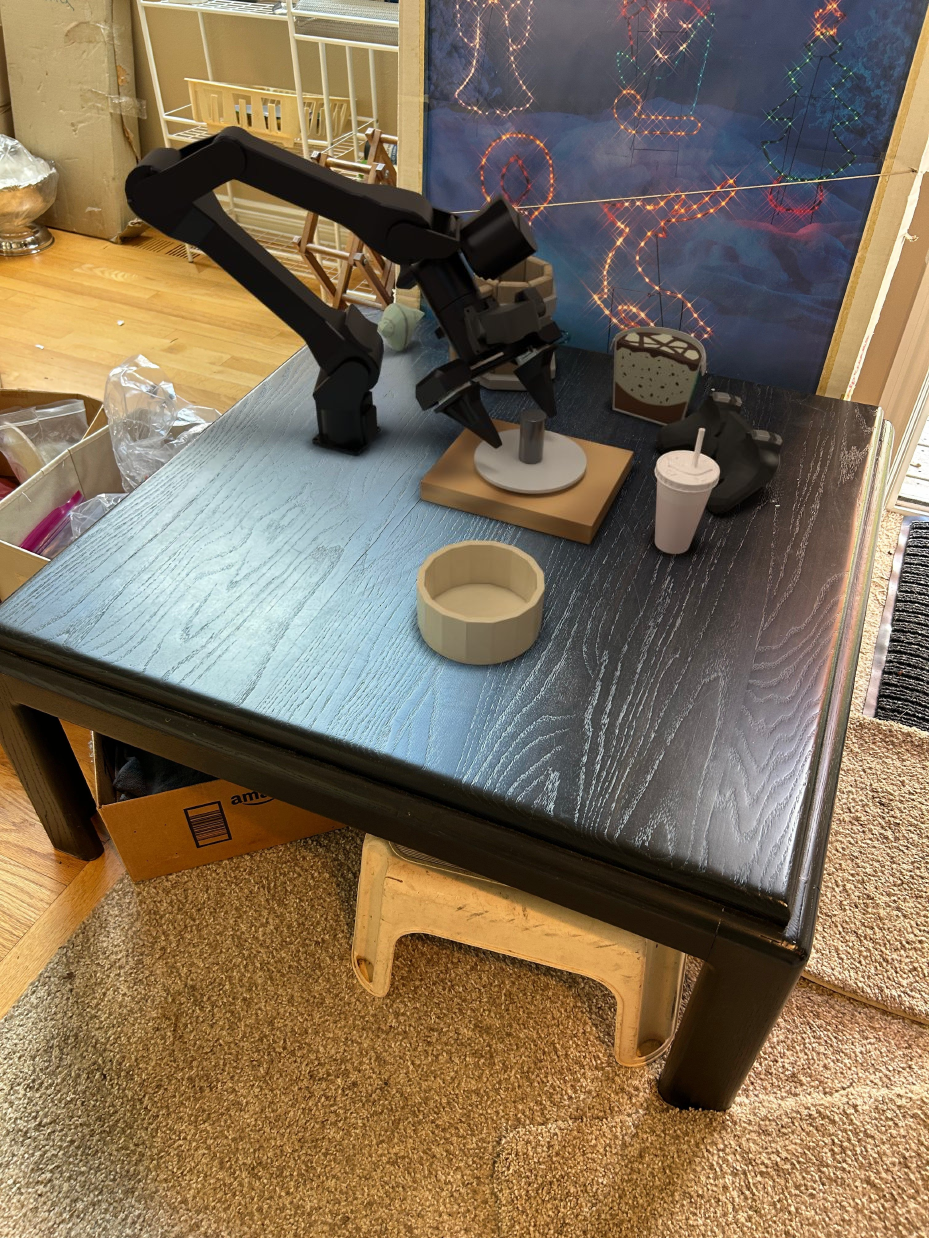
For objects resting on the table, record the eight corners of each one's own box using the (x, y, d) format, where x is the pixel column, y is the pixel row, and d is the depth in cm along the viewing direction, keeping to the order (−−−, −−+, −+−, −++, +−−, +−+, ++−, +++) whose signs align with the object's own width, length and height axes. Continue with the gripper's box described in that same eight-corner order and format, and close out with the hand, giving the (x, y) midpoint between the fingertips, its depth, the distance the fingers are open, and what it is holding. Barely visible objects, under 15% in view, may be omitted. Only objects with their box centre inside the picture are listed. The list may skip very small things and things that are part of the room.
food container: (708, 413, 117) (724, 340, 110) (690, 434, 113) (706, 360, 107) (622, 387, 122) (632, 316, 115) (602, 406, 118) (611, 334, 111)
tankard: (508, 339, 132) (513, 235, 122) (572, 370, 125) (583, 262, 115) (404, 384, 122) (400, 274, 112) (468, 420, 115) (470, 306, 105)
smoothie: (701, 565, 94) (730, 450, 85) (640, 557, 95) (661, 442, 85) (702, 529, 99) (729, 416, 89) (643, 521, 100) (664, 408, 90)
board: (420, 499, 102) (420, 481, 100) (476, 432, 113) (476, 414, 111) (589, 544, 96) (591, 526, 95) (630, 469, 107) (633, 451, 106)
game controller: (753, 530, 103) (810, 458, 98) (712, 516, 99) (768, 441, 94) (687, 456, 114) (735, 388, 109) (647, 441, 111) (695, 370, 106)
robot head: (386, 363, 126) (384, 317, 122) (367, 353, 128) (364, 307, 124) (428, 346, 130) (428, 300, 126) (410, 336, 132) (408, 291, 128)
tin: (397, 642, 85) (395, 599, 81) (449, 570, 93) (449, 528, 89) (513, 680, 82) (516, 637, 78) (557, 601, 90) (561, 559, 86)
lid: (471, 495, 98) (472, 443, 94) (476, 434, 108) (477, 384, 103) (588, 500, 98) (595, 448, 94) (583, 438, 108) (589, 388, 103)
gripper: (432, 293, 87) (512, 437, 89) (557, 244, 97) (626, 374, 99) (381, 344, 96) (454, 473, 98) (500, 294, 106) (563, 412, 108)
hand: (527, 431), depth 100 cm, fingers open, 9 cm apart
